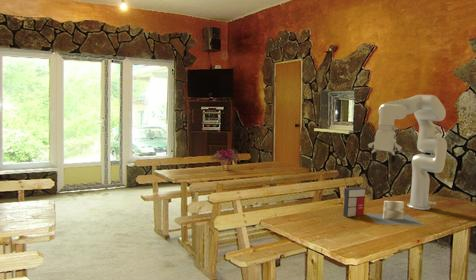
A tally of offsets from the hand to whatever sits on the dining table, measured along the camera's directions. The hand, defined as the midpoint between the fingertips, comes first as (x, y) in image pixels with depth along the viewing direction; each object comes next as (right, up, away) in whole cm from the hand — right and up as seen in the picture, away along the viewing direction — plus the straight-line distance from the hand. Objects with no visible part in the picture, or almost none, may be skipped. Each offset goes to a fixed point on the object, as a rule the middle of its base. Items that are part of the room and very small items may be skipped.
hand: (383, 161), depth 215 cm
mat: (+6, -31, +1) cm, 31 cm away
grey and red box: (-14, -29, +7) cm, 33 cm away
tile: (+6, -30, +2) cm, 30 cm away
